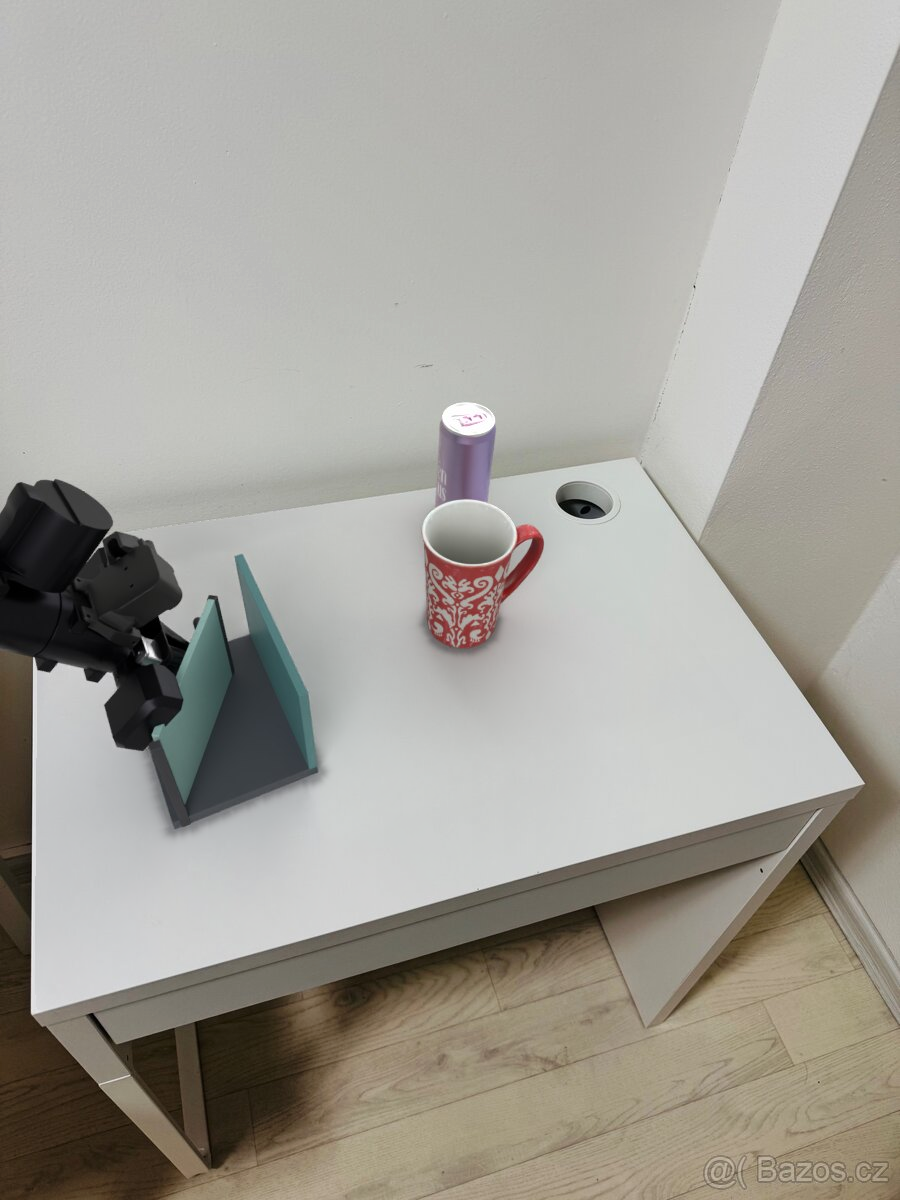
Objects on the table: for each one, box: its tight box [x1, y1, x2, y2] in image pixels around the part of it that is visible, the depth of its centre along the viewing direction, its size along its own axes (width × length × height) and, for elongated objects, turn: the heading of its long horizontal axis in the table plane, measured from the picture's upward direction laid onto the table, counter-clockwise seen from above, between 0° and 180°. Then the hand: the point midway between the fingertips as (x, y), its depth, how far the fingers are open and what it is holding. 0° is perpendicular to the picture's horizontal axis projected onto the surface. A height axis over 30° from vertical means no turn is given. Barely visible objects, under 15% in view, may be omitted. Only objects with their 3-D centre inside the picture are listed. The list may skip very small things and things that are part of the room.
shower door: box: [152, 594, 235, 805], centre depth 72 cm, size 2×14×11 cm, turn 173°
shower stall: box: [147, 553, 319, 830], centre depth 74 cm, size 13×17×12 cm
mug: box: [421, 500, 545, 649], centre depth 84 cm, size 13×9×14 cm
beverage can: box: [434, 402, 497, 509], centre depth 93 cm, size 6×6×15 cm
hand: (205, 663), depth 76 cm, fingers closed
